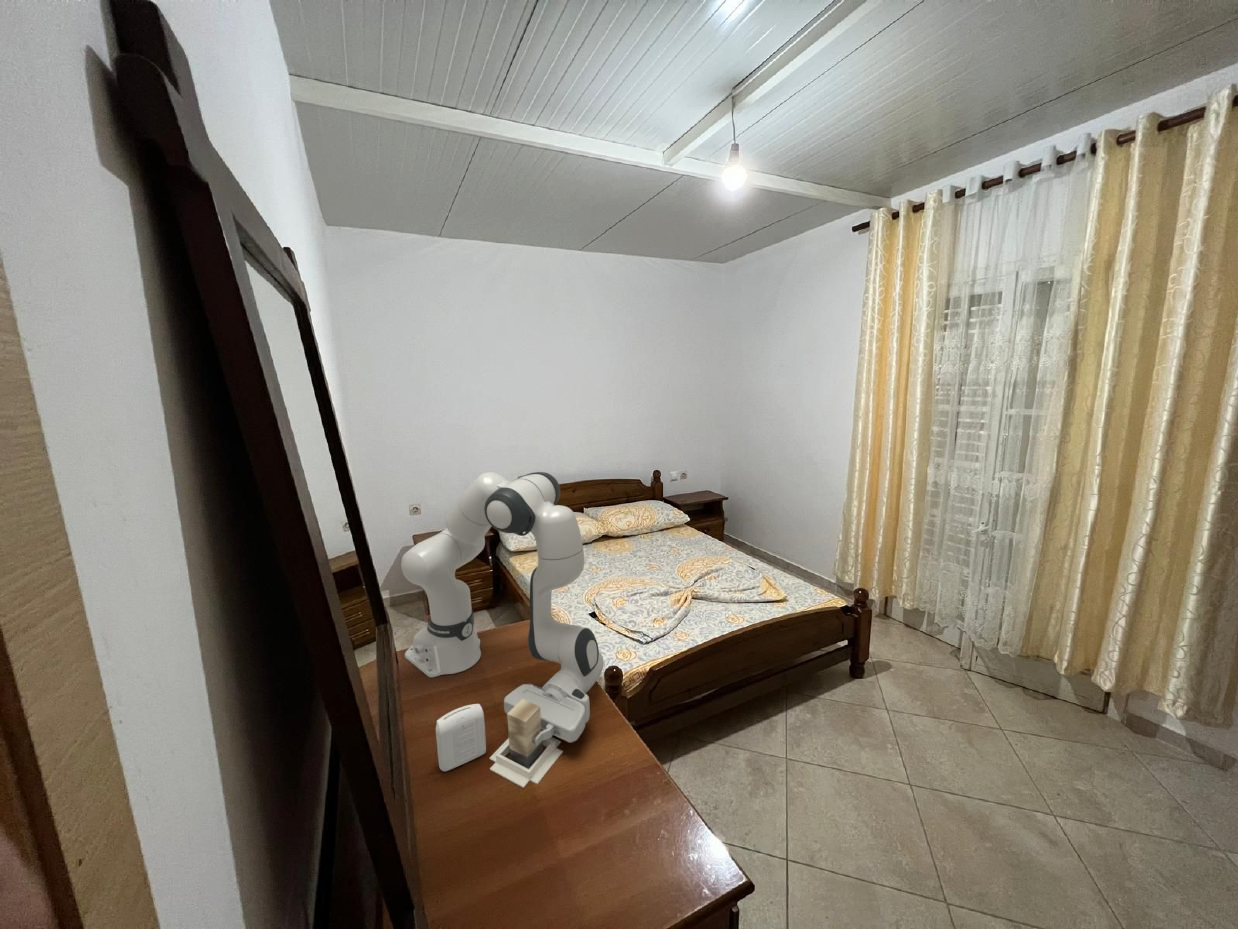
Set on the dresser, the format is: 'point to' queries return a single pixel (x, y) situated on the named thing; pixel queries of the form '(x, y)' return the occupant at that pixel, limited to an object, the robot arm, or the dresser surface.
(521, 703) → the block
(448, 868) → the dresser surface
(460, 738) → the photo printer
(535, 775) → the flanged square frame
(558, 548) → the robot arm
